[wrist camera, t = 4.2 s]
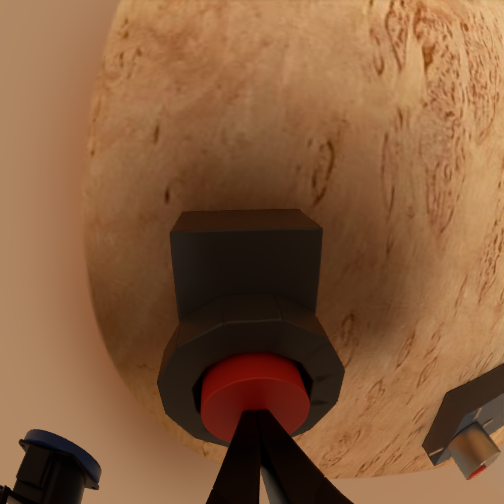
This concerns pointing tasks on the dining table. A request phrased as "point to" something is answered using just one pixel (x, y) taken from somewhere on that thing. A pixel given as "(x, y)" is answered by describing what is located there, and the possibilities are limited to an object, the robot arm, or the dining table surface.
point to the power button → (252, 392)
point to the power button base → (246, 306)
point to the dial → (473, 450)
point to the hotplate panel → (467, 413)
